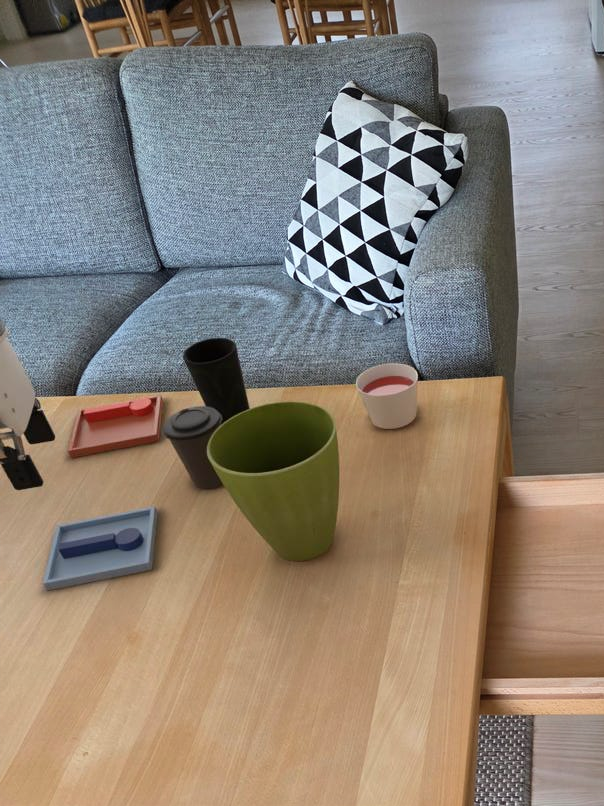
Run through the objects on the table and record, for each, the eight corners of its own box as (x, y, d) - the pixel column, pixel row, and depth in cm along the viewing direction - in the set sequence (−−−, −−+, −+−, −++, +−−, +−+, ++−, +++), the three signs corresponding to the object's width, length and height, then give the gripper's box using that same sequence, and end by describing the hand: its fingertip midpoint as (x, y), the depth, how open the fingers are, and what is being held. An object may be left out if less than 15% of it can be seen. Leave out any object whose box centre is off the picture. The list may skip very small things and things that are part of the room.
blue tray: (46, 590, 109) (42, 583, 108) (60, 532, 117) (56, 525, 117) (152, 569, 110) (148, 562, 109) (158, 513, 118) (154, 506, 118)
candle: (363, 406, 133) (355, 368, 128) (421, 397, 133) (415, 359, 129) (364, 438, 127) (356, 399, 122) (425, 429, 127) (419, 390, 122)
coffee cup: (207, 457, 127) (184, 396, 120) (252, 467, 124) (231, 405, 117) (172, 489, 122) (146, 427, 115) (218, 500, 119) (194, 437, 112)
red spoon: (86, 426, 136) (82, 417, 135) (89, 415, 138) (85, 406, 137) (152, 414, 137) (149, 405, 135) (154, 403, 139) (150, 394, 138)
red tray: (70, 457, 130) (67, 451, 130) (80, 416, 139) (77, 409, 138) (159, 441, 131) (156, 434, 131) (163, 401, 140) (160, 394, 139)
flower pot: (329, 592, 104) (296, 482, 92) (223, 572, 108) (180, 464, 97) (381, 516, 113) (357, 408, 102) (282, 500, 118) (249, 395, 106)
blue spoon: (62, 564, 112) (57, 554, 111) (66, 547, 114) (60, 538, 113) (142, 548, 113) (138, 538, 111) (144, 532, 115) (140, 522, 114)
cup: (269, 416, 133) (247, 343, 125) (234, 442, 129) (209, 368, 121) (233, 405, 137) (209, 333, 128) (198, 430, 133) (171, 357, 124)
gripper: (-53, 298, 97) (17, 430, 110) (-93, 373, 85) (-10, 512, 98) (15, 288, 98) (77, 420, 110) (-15, 360, 86) (58, 500, 98)
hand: (36, 463), depth 104 cm, fingers open, 9 cm apart
